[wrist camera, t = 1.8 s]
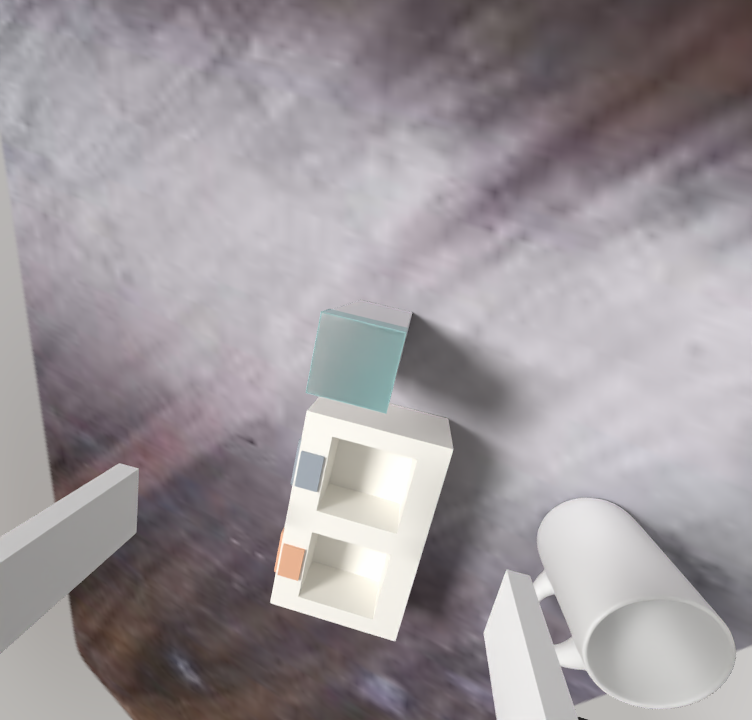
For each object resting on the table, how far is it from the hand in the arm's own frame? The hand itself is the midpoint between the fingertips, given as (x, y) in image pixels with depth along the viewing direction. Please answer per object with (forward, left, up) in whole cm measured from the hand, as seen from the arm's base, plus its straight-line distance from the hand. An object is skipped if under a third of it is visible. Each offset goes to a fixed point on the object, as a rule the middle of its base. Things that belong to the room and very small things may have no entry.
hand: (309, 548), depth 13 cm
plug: (-5, -1, -20) cm, 21 cm away
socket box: (+10, +1, -20) cm, 23 cm away
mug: (+10, +20, -21) cm, 30 cm away
